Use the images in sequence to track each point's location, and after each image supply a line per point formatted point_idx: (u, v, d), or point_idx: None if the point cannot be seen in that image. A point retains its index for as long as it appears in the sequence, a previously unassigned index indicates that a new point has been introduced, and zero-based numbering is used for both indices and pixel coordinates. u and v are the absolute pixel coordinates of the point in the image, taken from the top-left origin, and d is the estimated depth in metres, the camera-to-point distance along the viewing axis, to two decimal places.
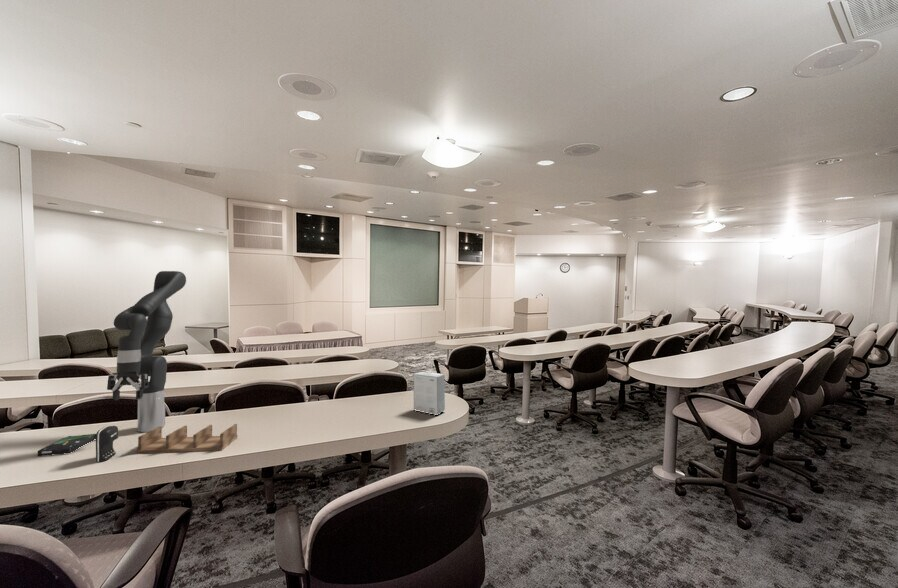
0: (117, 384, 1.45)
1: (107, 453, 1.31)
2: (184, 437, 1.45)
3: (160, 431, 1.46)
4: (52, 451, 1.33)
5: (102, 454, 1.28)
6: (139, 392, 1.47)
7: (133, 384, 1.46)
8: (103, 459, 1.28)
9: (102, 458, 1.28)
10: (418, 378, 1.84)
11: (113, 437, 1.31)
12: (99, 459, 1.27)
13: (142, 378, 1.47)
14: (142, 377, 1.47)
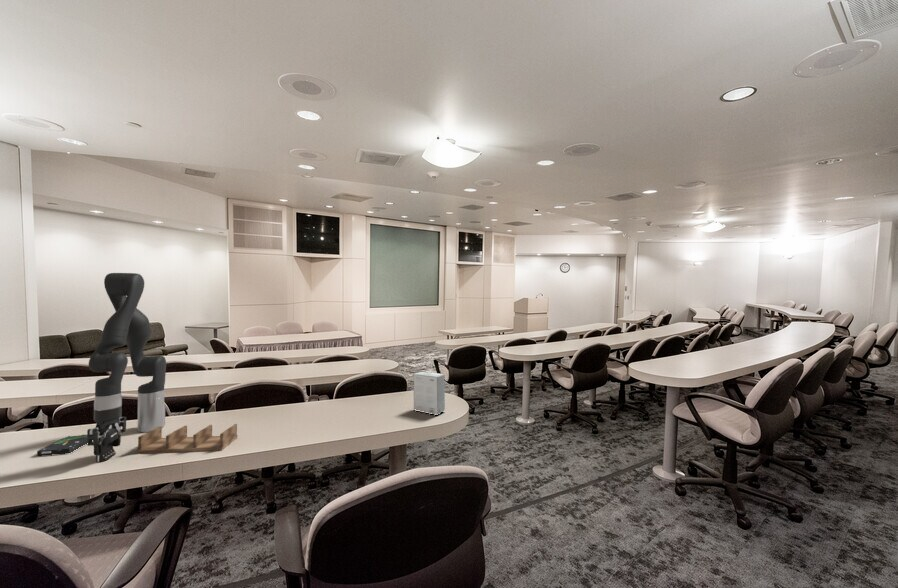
0: None
1: (107, 453, 1.31)
2: (184, 437, 1.45)
3: (160, 431, 1.46)
4: (52, 452, 1.33)
5: (102, 454, 1.28)
6: (119, 437, 1.35)
7: (119, 429, 1.34)
8: (103, 459, 1.28)
9: (102, 458, 1.28)
10: (418, 378, 1.84)
11: (113, 437, 1.31)
12: (99, 459, 1.28)
13: (125, 420, 1.37)
14: (125, 419, 1.37)
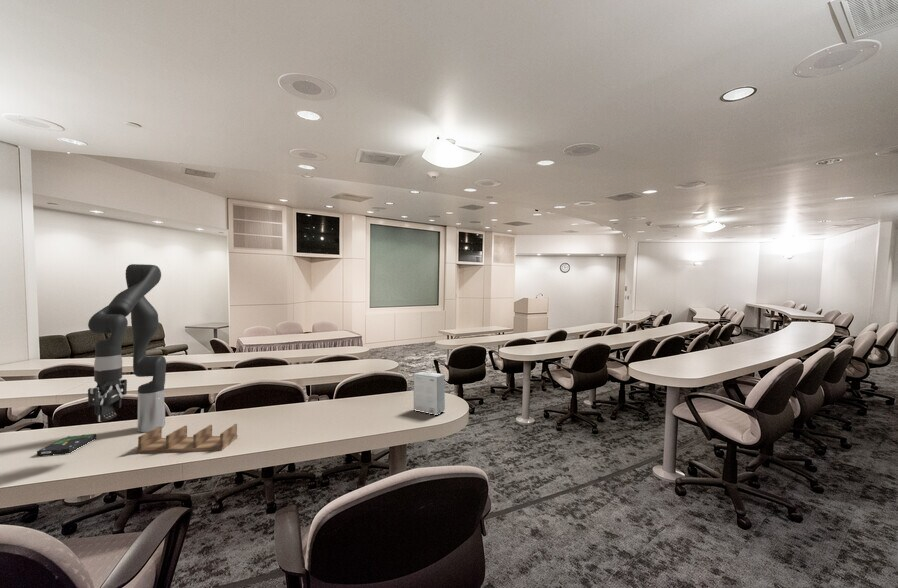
0: None
1: (108, 414, 1.31)
2: (184, 437, 1.45)
3: (160, 431, 1.46)
4: (52, 452, 1.33)
5: (103, 414, 1.29)
6: (120, 399, 1.36)
7: (120, 391, 1.34)
8: (104, 419, 1.28)
9: (103, 418, 1.28)
10: (418, 378, 1.84)
11: (114, 398, 1.31)
12: (100, 419, 1.28)
13: (125, 383, 1.37)
14: (125, 382, 1.37)
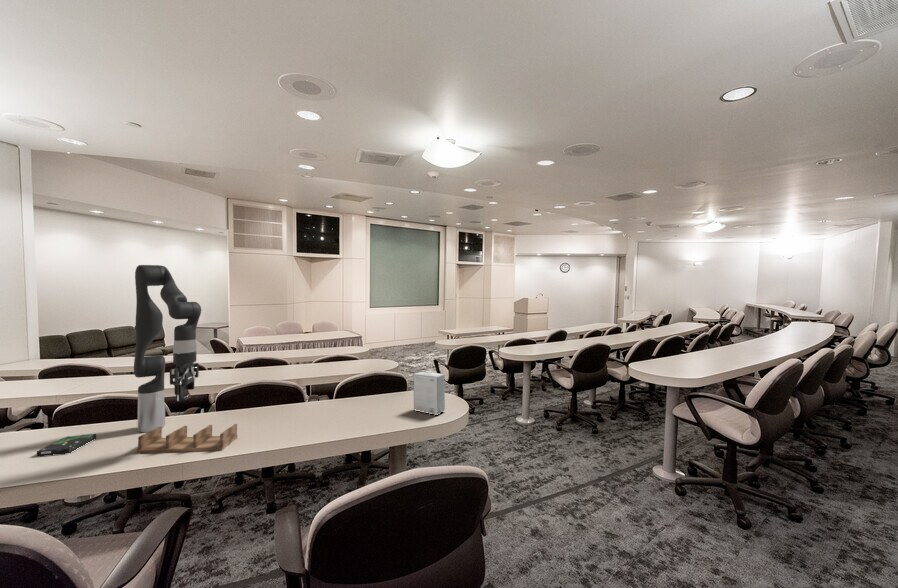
0: (184, 376, 1.39)
1: (184, 394, 1.41)
2: (184, 437, 1.45)
3: (160, 431, 1.46)
4: (52, 452, 1.33)
5: (181, 394, 1.39)
6: (193, 381, 1.46)
7: (194, 373, 1.44)
8: (182, 399, 1.38)
9: (181, 398, 1.38)
10: (418, 378, 1.84)
11: (189, 380, 1.41)
12: (179, 398, 1.38)
13: (197, 366, 1.48)
14: (197, 365, 1.48)
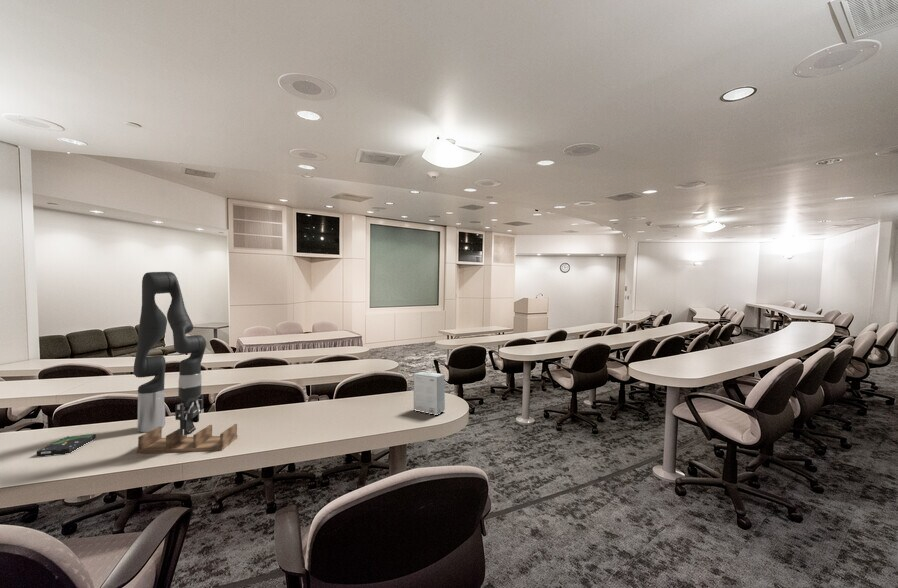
0: None
1: (189, 428, 1.42)
2: (184, 437, 1.45)
3: (160, 431, 1.46)
4: (51, 452, 1.33)
5: (186, 428, 1.40)
6: (198, 414, 1.47)
7: (198, 406, 1.45)
8: (187, 433, 1.39)
9: (186, 432, 1.39)
10: (418, 378, 1.84)
11: (195, 413, 1.42)
12: (184, 433, 1.39)
13: (202, 399, 1.48)
14: (202, 398, 1.48)
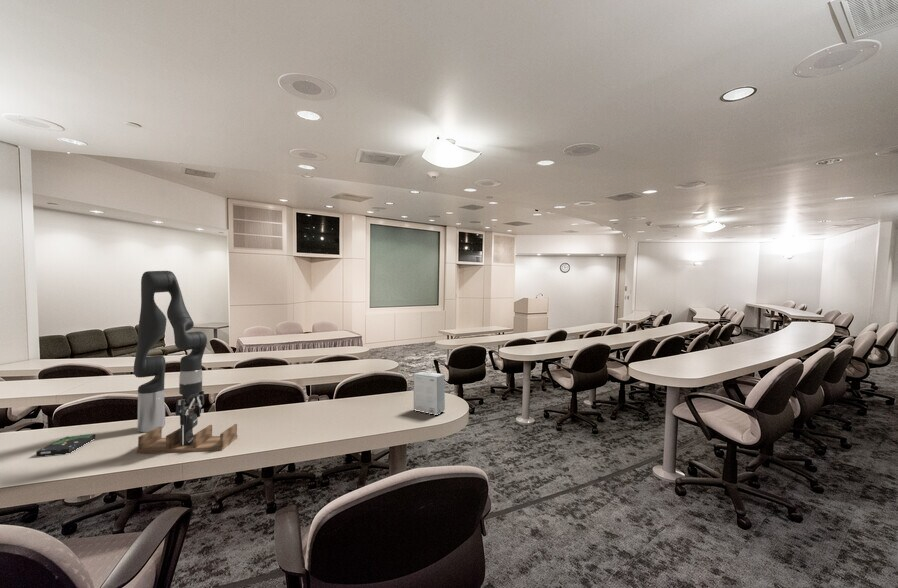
0: (190, 406, 1.40)
1: (189, 438, 1.42)
2: None
3: (160, 431, 1.46)
4: (51, 452, 1.33)
5: (186, 439, 1.40)
6: (199, 409, 1.47)
7: (199, 402, 1.46)
8: (187, 443, 1.39)
9: (186, 442, 1.39)
10: (418, 378, 1.84)
11: (194, 423, 1.42)
12: (184, 443, 1.39)
13: (203, 394, 1.49)
14: (203, 393, 1.49)
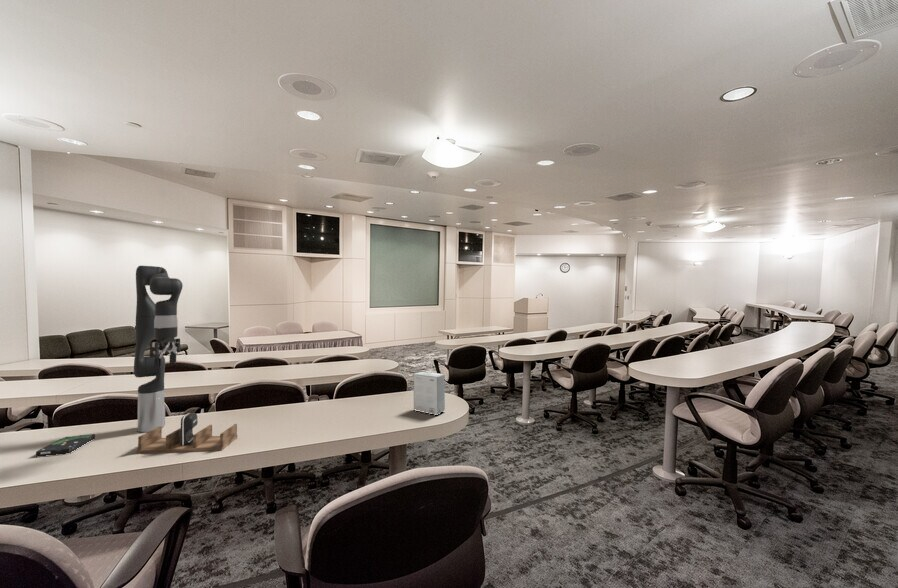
0: (165, 350, 1.42)
1: (189, 438, 1.42)
2: None
3: (160, 431, 1.46)
4: (51, 452, 1.33)
5: (186, 439, 1.40)
6: (175, 356, 1.49)
7: (175, 348, 1.48)
8: (187, 443, 1.39)
9: (186, 442, 1.39)
10: (418, 378, 1.84)
11: (194, 423, 1.42)
12: (184, 443, 1.39)
13: (179, 342, 1.51)
14: (179, 341, 1.51)
